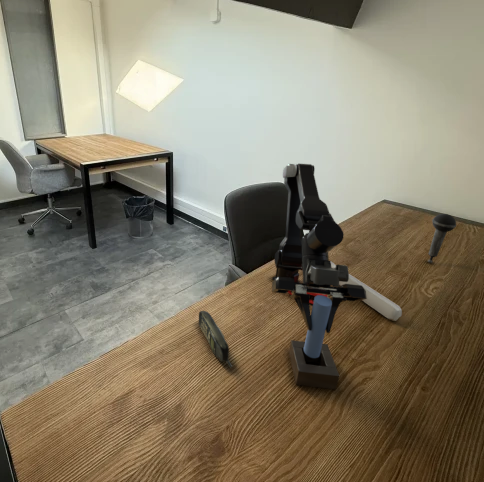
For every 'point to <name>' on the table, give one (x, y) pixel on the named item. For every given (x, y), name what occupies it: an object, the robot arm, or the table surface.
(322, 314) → the peg
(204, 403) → the table surface
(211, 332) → the mobile phone
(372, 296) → the tube
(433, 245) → the microphone
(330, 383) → the stand
